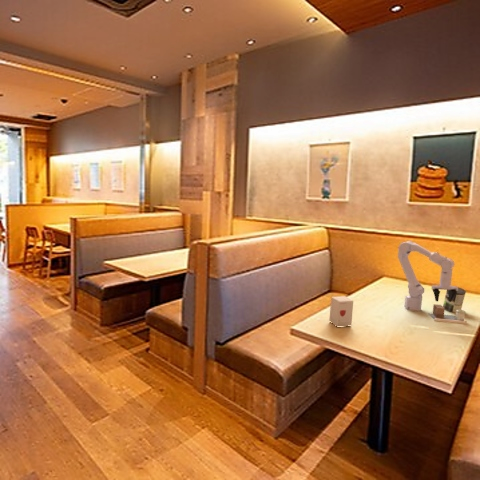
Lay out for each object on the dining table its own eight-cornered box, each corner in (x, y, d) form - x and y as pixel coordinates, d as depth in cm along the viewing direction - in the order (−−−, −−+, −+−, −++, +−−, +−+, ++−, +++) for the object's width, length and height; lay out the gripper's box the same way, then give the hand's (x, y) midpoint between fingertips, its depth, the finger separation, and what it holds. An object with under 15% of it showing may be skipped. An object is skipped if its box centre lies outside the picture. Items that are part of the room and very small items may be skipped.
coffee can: (442, 311, 228) (447, 291, 223) (442, 304, 237) (446, 284, 232) (461, 315, 224) (466, 294, 219) (460, 308, 232) (465, 288, 228)
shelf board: (434, 322, 209) (435, 318, 209) (428, 314, 222) (428, 311, 222) (466, 325, 206) (466, 321, 206) (457, 317, 219) (458, 314, 218)
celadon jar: (456, 321, 209) (457, 310, 208) (453, 318, 213) (454, 307, 212) (465, 322, 208) (466, 311, 207) (462, 319, 212) (463, 308, 211)
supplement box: (337, 328, 196) (339, 301, 194) (328, 322, 205) (330, 296, 203) (351, 326, 199) (353, 300, 197) (343, 321, 207) (344, 295, 205)
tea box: (443, 318, 214) (444, 308, 213) (436, 317, 215) (437, 307, 214) (439, 314, 221) (440, 304, 220) (432, 313, 221) (433, 304, 221)
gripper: (436, 280, 212) (434, 302, 214) (462, 281, 211) (459, 303, 213) (430, 277, 219) (428, 299, 221) (455, 278, 218) (452, 300, 220)
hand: (443, 301), depth 217 cm, fingers open, 7 cm apart
